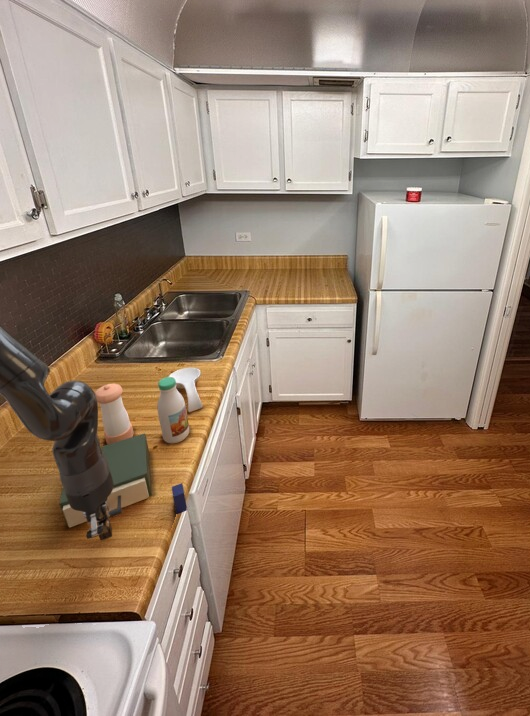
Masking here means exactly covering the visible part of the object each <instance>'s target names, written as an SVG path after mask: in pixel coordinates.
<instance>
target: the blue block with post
mask: <svg viewBox="0 0 530 716" xmlns="http://www.w3.org/2000/svg"><path fill="white" fill-rule="evenodd" d="M171 491H172V492H171V493H172V501H173V504H174V510H175V514H176V515H180V514H181V513H184V512H186V511H188V507H187V501H186V496H185V490H184V485H183V482H181V483H179V484H176V485H173V486H171Z"/></svg>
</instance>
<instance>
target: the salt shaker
mask: <svg viewBox="0 0 530 716" xmlns="http://www.w3.org/2000/svg"><path fill="white" fill-rule="evenodd" d="M123 390H124V389H123V388H122V386H121V385H120V384H118V383H108V384H107V383H106V384H105V385H102V386H100V387H99V388H97V390H96V391H95V392H94V393H95V395H96V398H97V403H98V404H99V406H100V407H99V408H100V411H101V418H102V420H101V421H102V426H103V430H104V434H103V436H104V439H105V442H106V445H108V444H111V443H115V442H118V441H121V440H125V439H128V438H131V437H134V436H135V435H134V428H133V424H132V421H130V417H129V414H128V412H127V410H126V408H125V405H124V402H123V399H122V395H123V392H124V391H123Z"/></svg>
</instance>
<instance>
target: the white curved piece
mask: <svg viewBox="0 0 530 716" xmlns="http://www.w3.org/2000/svg"><path fill="white" fill-rule="evenodd" d="M201 374H202V373H201V370H200V369H199V368H197V367H193V366H191V367H189V366H188V367H184V368H180V369H177V370H175V371H173V372H171V373H170V374H169V375H168V377H173V378H174V379H175V381H176V389H180V390H185V392H186V393H185V394H186V396H187V411H188V412H187V413H192V412H195V411H198V410H201V409H203V406H204V405H203V403H202V400H201V398H200V396H199V393H198V390H197V387H196V383H197V382H198V381H199V379H200V377H201Z"/></svg>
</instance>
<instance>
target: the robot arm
mask: <svg viewBox="0 0 530 716" xmlns="http://www.w3.org/2000/svg"><path fill="white" fill-rule="evenodd" d="M50 372H51V369H50V367H49V365H48V364H47V363H45V362H44V360H42V359H41V358H39V357H38V356H37V355H36V354H35V353H33V352H32V351H31V350H30V349H28V348H27V347H26V346H25V345H23V344H22V343H21V342H20V341H18V339H16V338H15V337H14V336H13V335H11V334H10V333H9V332H8V331H7V330H6V329H5V328H4V327H3V326H2V325H0V396H2V397H3V398H4V399H5V400H6V402H7V403H8V405H9V406H10V408H11V410H13V412H14V413H15V414H16V416H17V418H18V420H20V422H21V423H22V425H23V426H24V427H25V428H26V430H27V431H28V432H29V433H31V435H33V436H34V437H36V438H38V439H40V440H43V441H48V442H53V444H52V448H51V449H52V450H51V451H52V452H51V453H52V456H53V460H54V462H55V465H56V467H57V470H58V474H59V479H60V480H59V481H60V483H61V485H62V489H64V491H65V494H66V497H67V499H68V502H69V505H70V507H71V508H72V509H74V510H76V511H82V512H83V516H84V518H85V519H87V521H86V522H87V524H88V526H89V527H90V528H88V530H87V532H86V534H85V537H86V539H87V540H90V539H94V538H97V537H98V538H99V541H101V542H103V541H105V540H108V539H110V538H112V537H113V526H112V523H111V521H110V519H111V518H110V514H109V508H110V504H109V501H108V496H109V495H110V494H111V492H112V490H113V487H114V482H113V478H112V475H111V472H110V468H109V465H108V462H107V459H106V456H105V454H104V453H103V450H102V447H101V446H102V445H101V440H100V438H99V436H98V435H99V434H98V427H99V403H98V402H97V398H96V395H95V393H96V392H95V391H94V389H93V388H92V387H91V386H90V385H89V384H87V383H86V382H83V381H80V380H68V381H65V382H63V383H61V384H60V385H58V386H57V387H56V388H55V389H54V390H52V391H51V393H50V394H49V392H48V390H47V389H46V387H45V383H46V380H47V379H48V377H49V375H50V374H51V373H50Z"/></svg>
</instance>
